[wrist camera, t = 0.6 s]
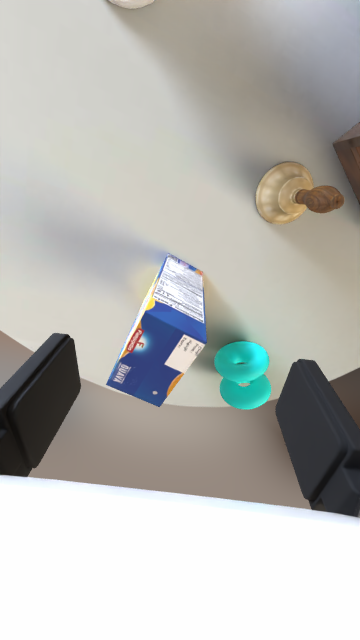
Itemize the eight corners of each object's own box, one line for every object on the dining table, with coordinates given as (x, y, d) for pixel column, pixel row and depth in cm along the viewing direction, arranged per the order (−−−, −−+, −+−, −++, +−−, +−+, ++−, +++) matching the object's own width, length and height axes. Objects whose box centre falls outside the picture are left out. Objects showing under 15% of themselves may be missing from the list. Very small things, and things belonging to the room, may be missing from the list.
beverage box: (203, 271, 44) (207, 342, 25) (174, 318, 49) (159, 407, 30) (168, 252, 42) (144, 311, 23) (142, 302, 48) (105, 385, 28)
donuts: (219, 378, 56) (223, 415, 47) (211, 342, 51) (214, 375, 42) (264, 373, 54) (277, 409, 45) (261, 335, 49) (275, 368, 41)
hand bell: (290, 147, 34) (352, 124, 20) (324, 192, 37) (401, 199, 23) (243, 196, 38) (270, 206, 24) (278, 235, 40) (320, 264, 26)
